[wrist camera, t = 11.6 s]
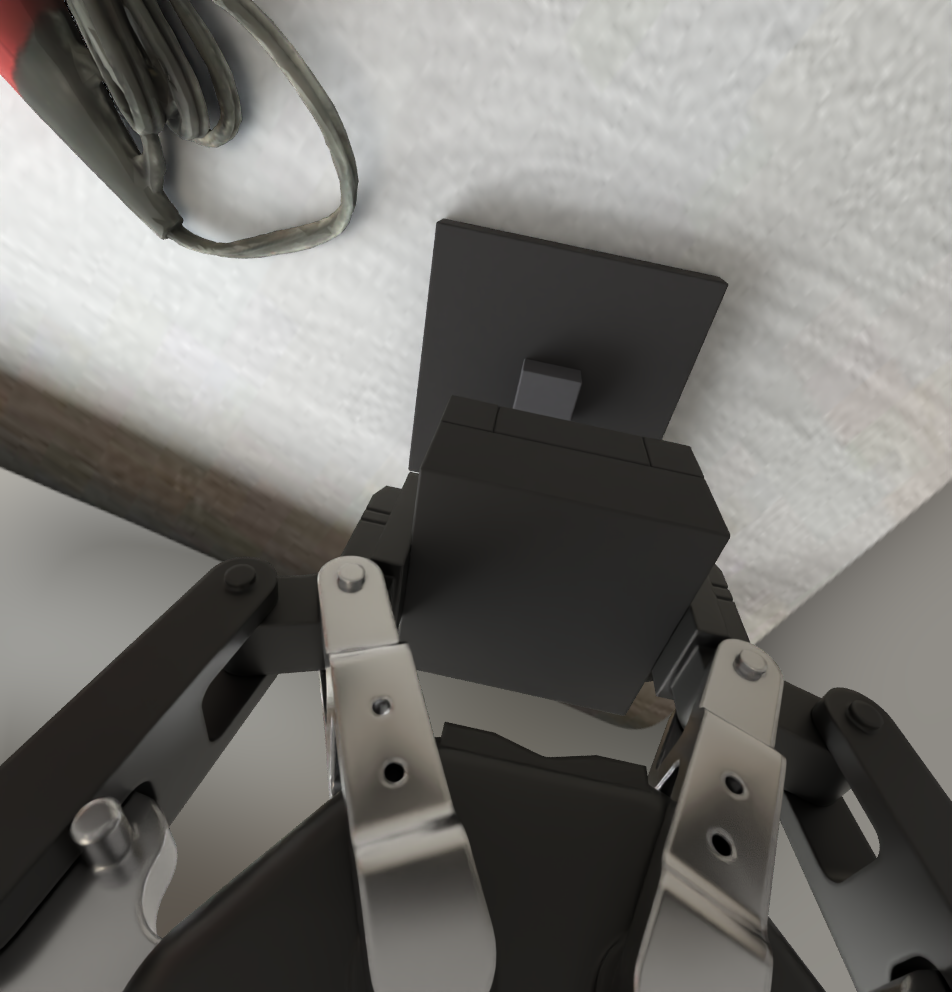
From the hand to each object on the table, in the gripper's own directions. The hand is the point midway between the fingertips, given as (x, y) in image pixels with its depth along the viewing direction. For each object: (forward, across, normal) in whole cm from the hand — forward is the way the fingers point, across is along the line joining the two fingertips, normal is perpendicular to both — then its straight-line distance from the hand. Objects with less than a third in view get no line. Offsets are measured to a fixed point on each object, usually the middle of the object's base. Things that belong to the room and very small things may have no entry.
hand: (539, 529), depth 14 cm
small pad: (+1, 0, 0) cm, 1 cm away
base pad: (+11, 0, 0) cm, 11 cm away
